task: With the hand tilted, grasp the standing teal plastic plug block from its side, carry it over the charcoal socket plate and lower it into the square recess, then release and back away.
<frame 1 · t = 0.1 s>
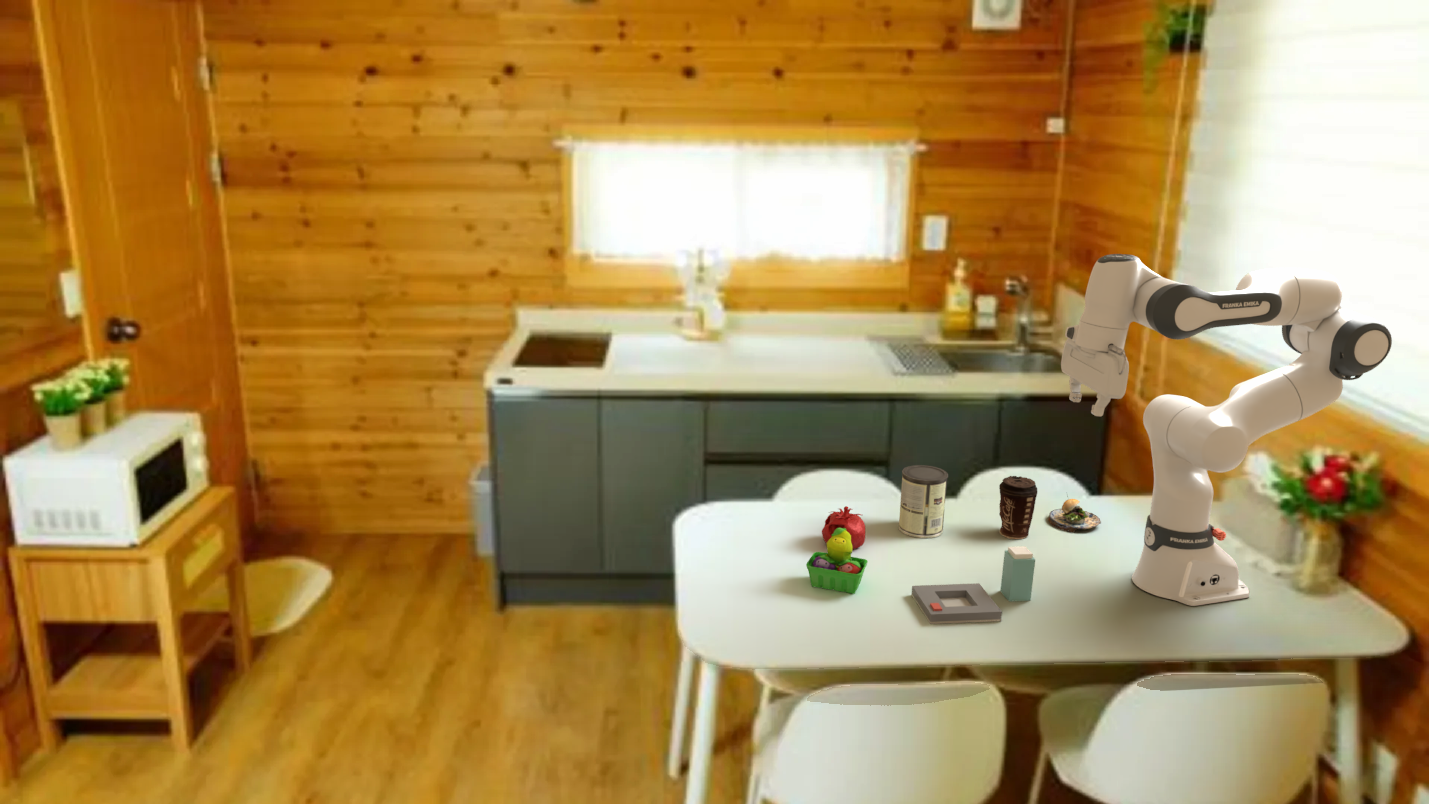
hand: (1085, 408, 203), 39 cm above the table, tool pointing down, fingers open, 8 cm apart
socket plate: (955, 607, 205), on the table
plug: (1015, 595, 210), on the table
coffee cup: (1013, 534, 241), on the table
burger: (1073, 525, 247), on the table
fruit basket: (836, 585, 214), on the table
coffee can: (920, 530, 242), on the table
pomegranate: (843, 545, 233), on the table
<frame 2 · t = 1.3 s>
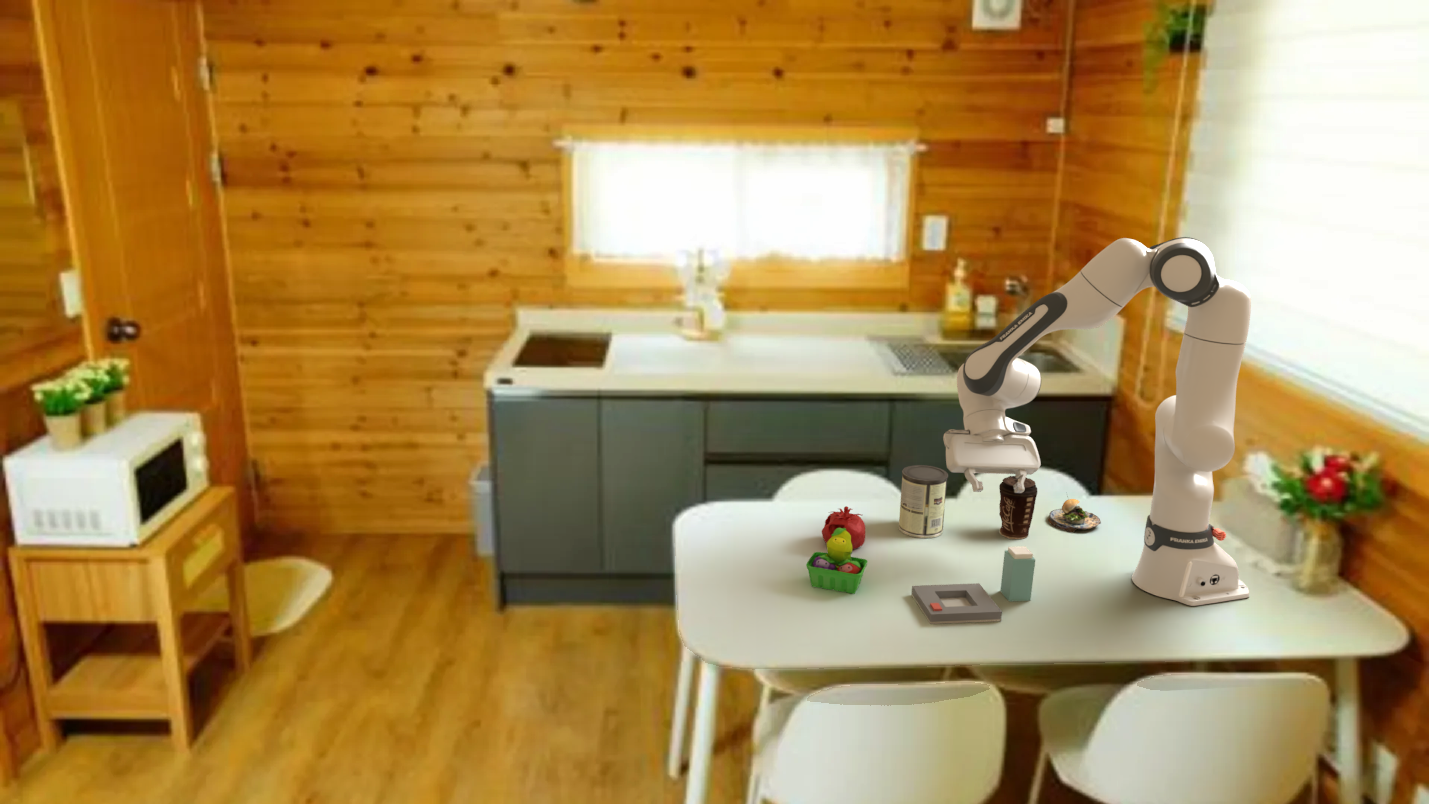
hand: (999, 491, 216), 18 cm above the table, tool tilted 45°, fingers open, 8 cm apart
nothing on the table moved.
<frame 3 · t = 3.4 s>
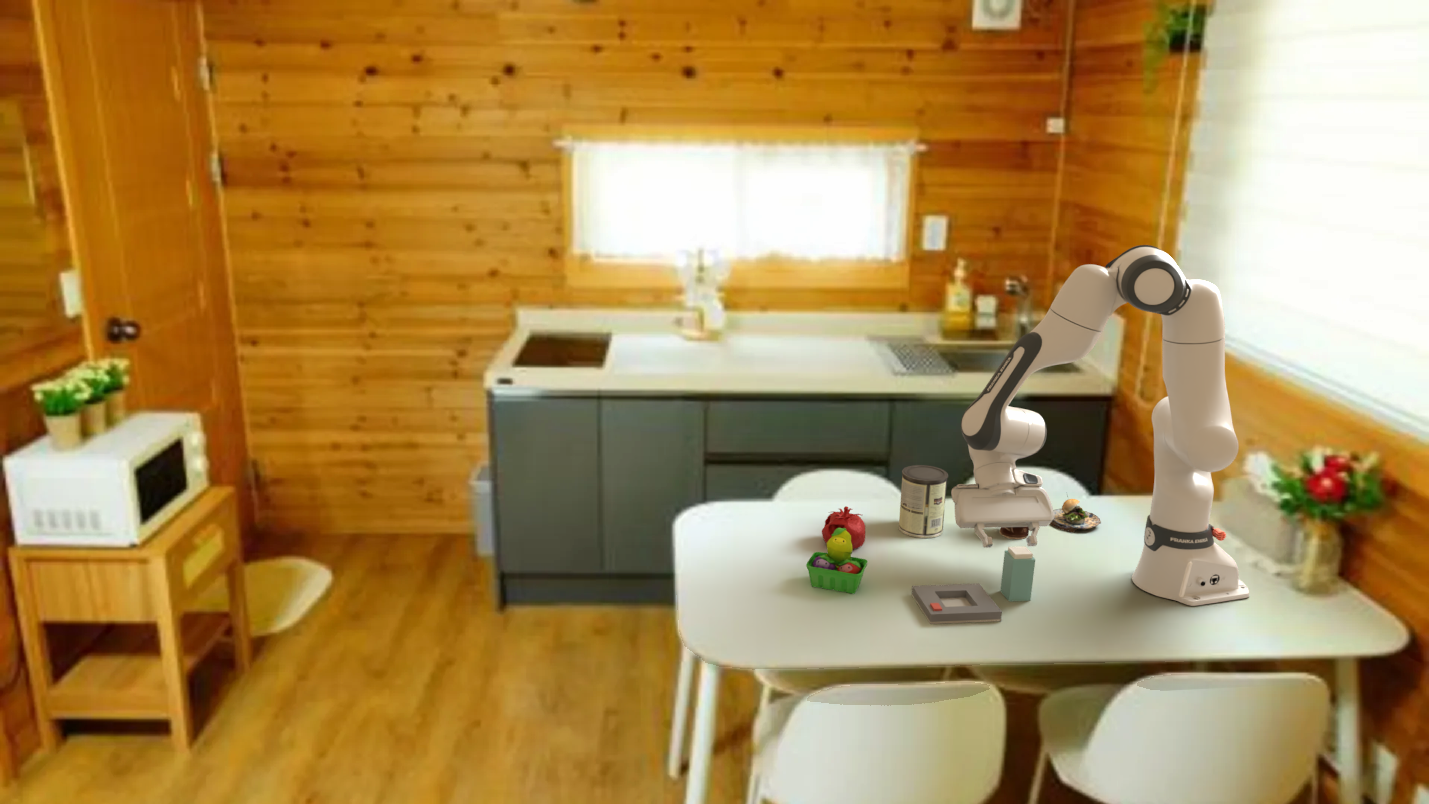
hand: (1010, 546, 212), 9 cm above the table, tool tilted 45°, fingers open, 8 cm apart
nothing on the table moved.
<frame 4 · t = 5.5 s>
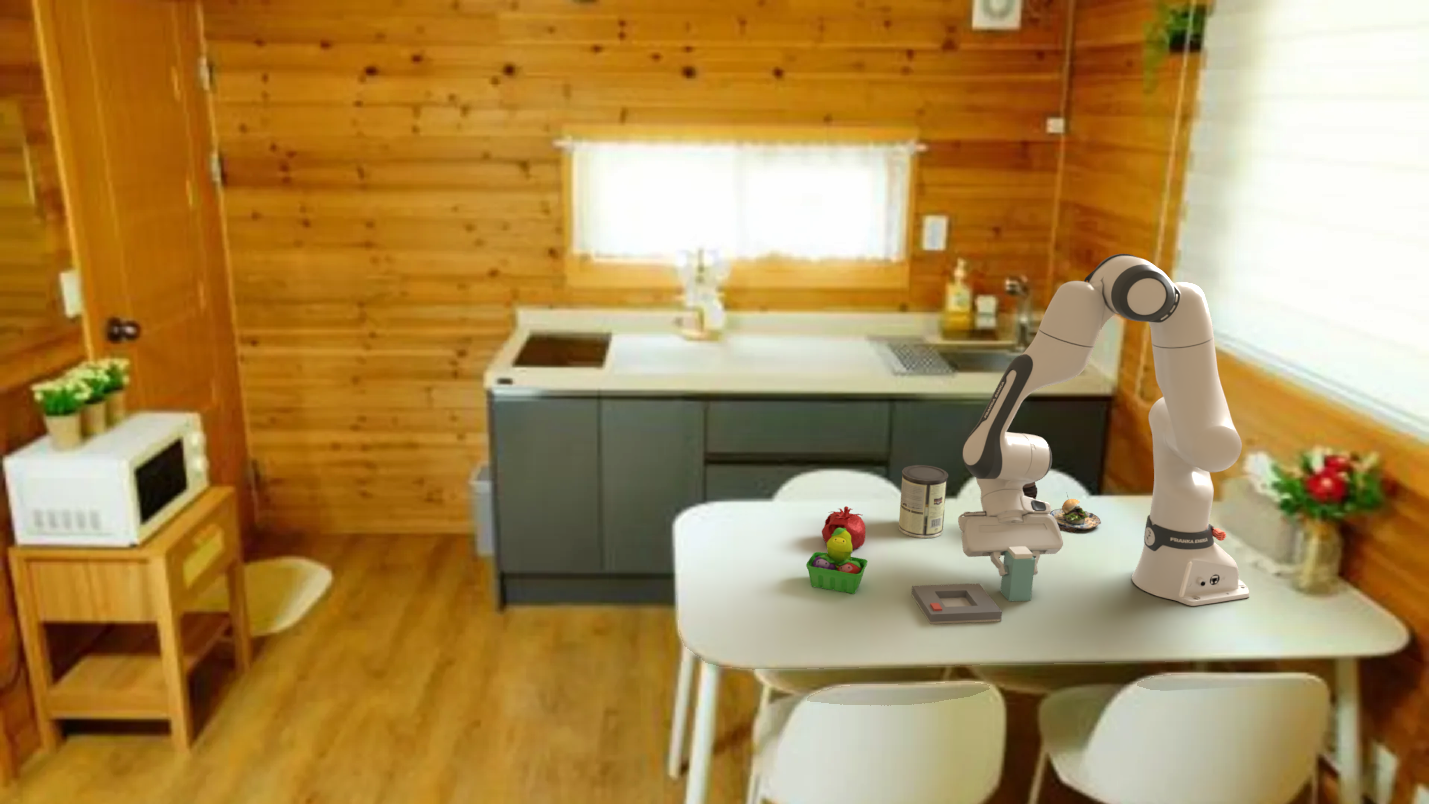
hand: (1019, 575, 208), 5 cm above the table, tool tilted 45°, fingers closed on plug, 4 cm apart
plug: (1015, 595, 210), on the table, touching gripper
everything else where it was.
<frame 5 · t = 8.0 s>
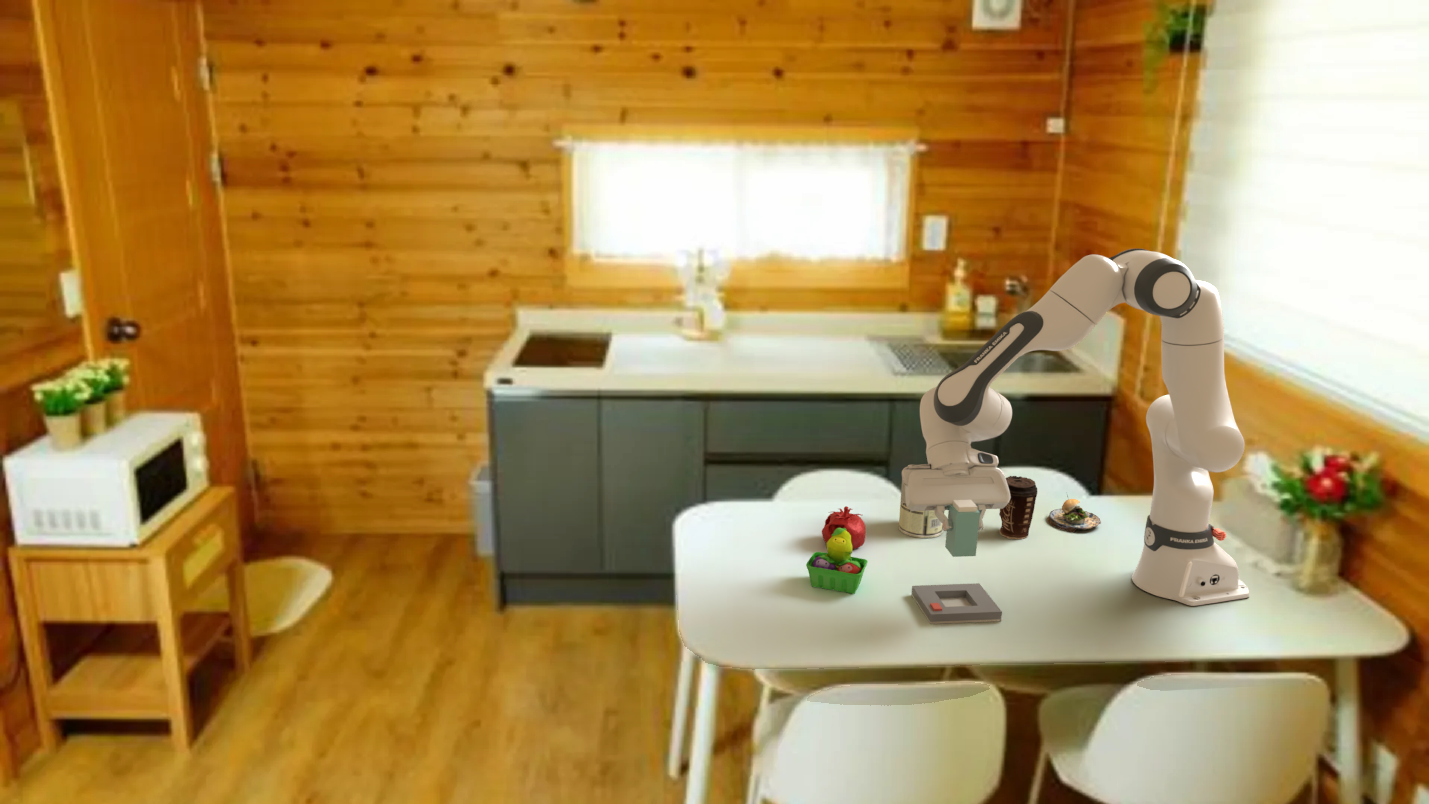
hand: (963, 529, 200), 17 cm above the table, tool tilted 45°, fingers closed on plug, 4 cm apart
plug: (960, 551, 202), point 12 cm above the table, touching gripper
everything else where it was.
when the fingers open (6 cm above the table, at t = 10.6 s): plug drops 1 cm, resting on socket plate.
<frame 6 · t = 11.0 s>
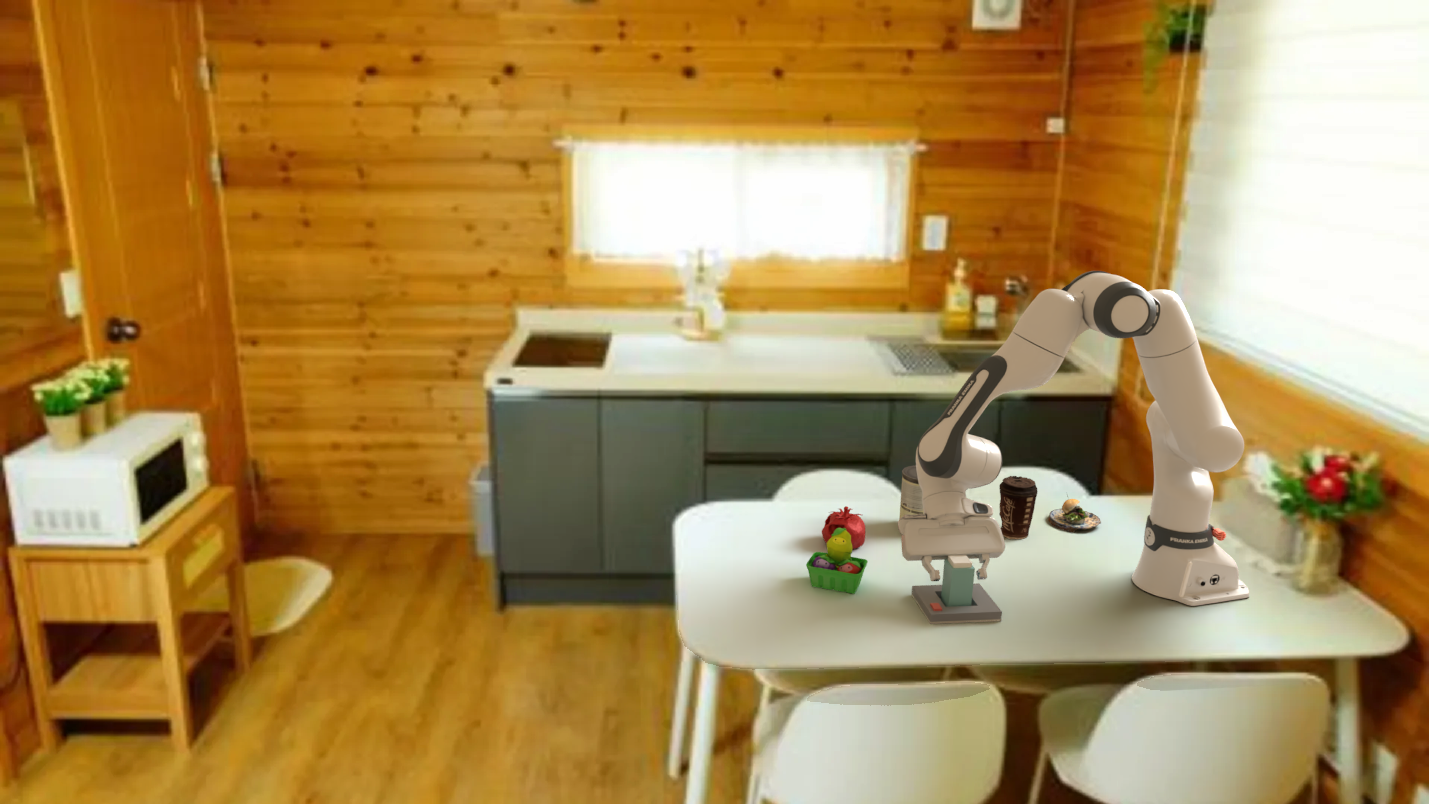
hand: (959, 579, 203), 6 cm above the table, tool tilted 45°, fingers open, 8 cm apart
plug: (955, 605, 205), resting on socket plate
everything else where it was.
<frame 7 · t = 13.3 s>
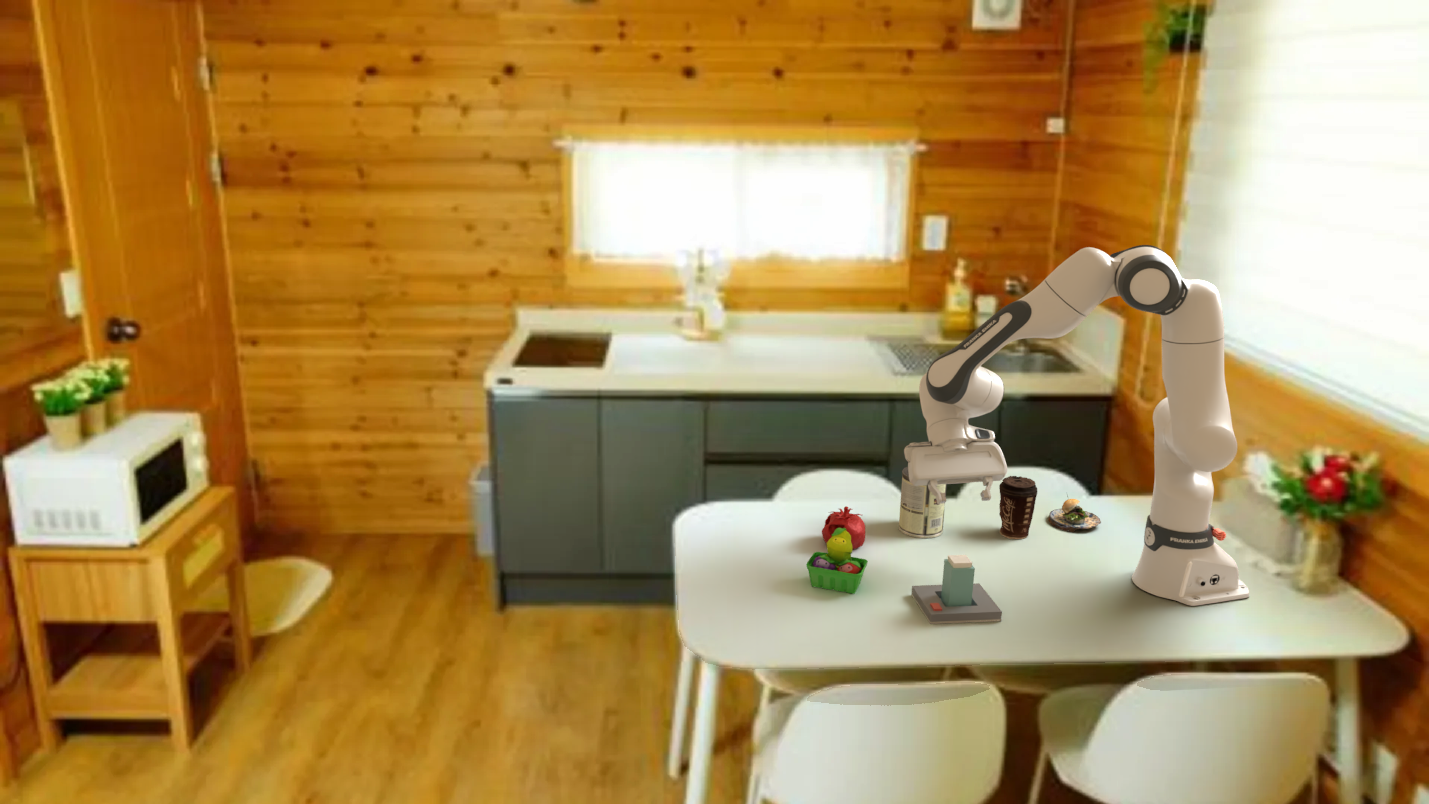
hand: (964, 501, 213), 17 cm above the table, tool tilted 45°, fingers open, 8 cm apart
nothing on the table moved.
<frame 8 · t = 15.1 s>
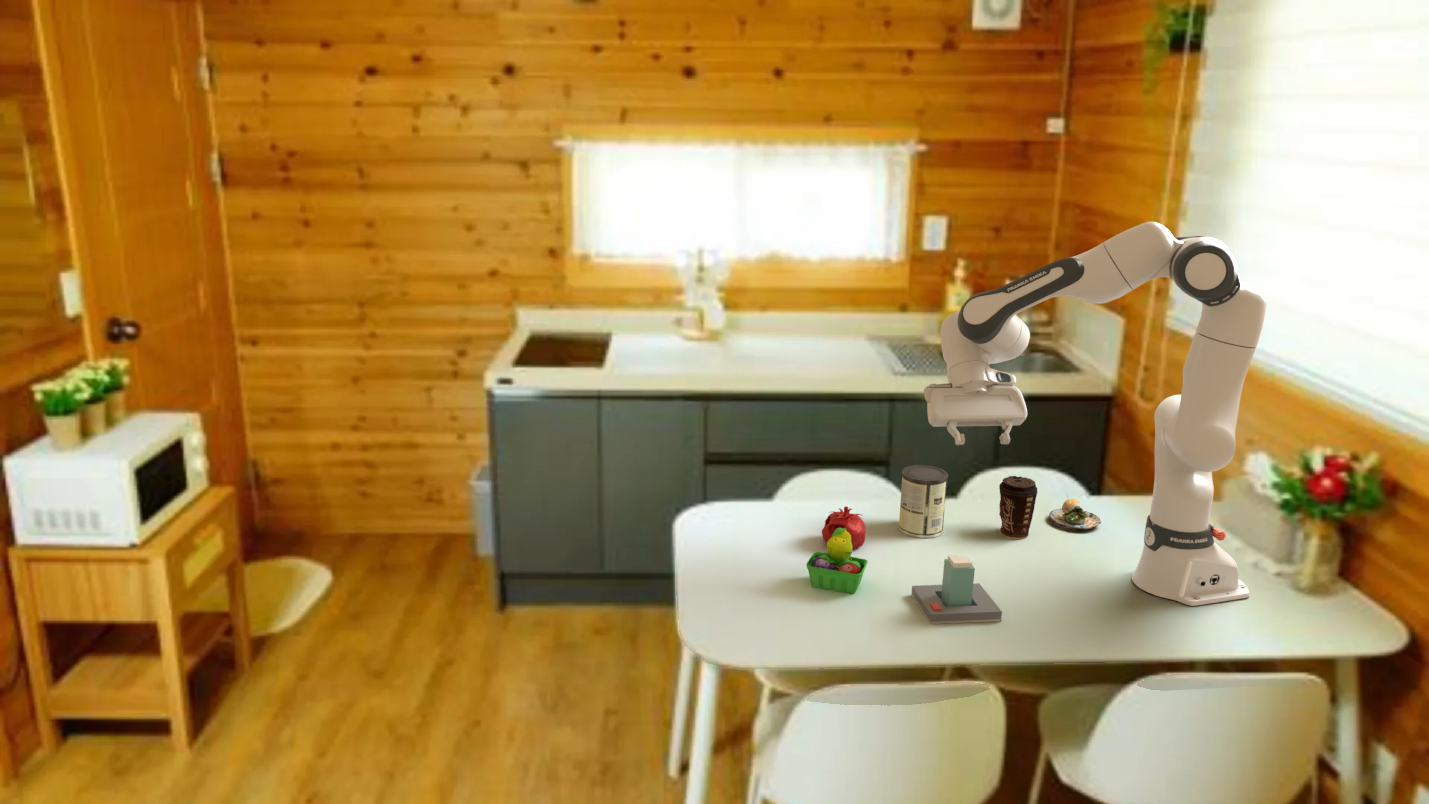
hand: (983, 443, 210), 29 cm above the table, tool tilted 45°, fingers open, 8 cm apart
nothing on the table moved.
at the end: plug 0.1 cm off-centre on the socket plate, point 0.4 cm above the socket plate's base; plug tilted 0°; the gripper is holding nothing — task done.
